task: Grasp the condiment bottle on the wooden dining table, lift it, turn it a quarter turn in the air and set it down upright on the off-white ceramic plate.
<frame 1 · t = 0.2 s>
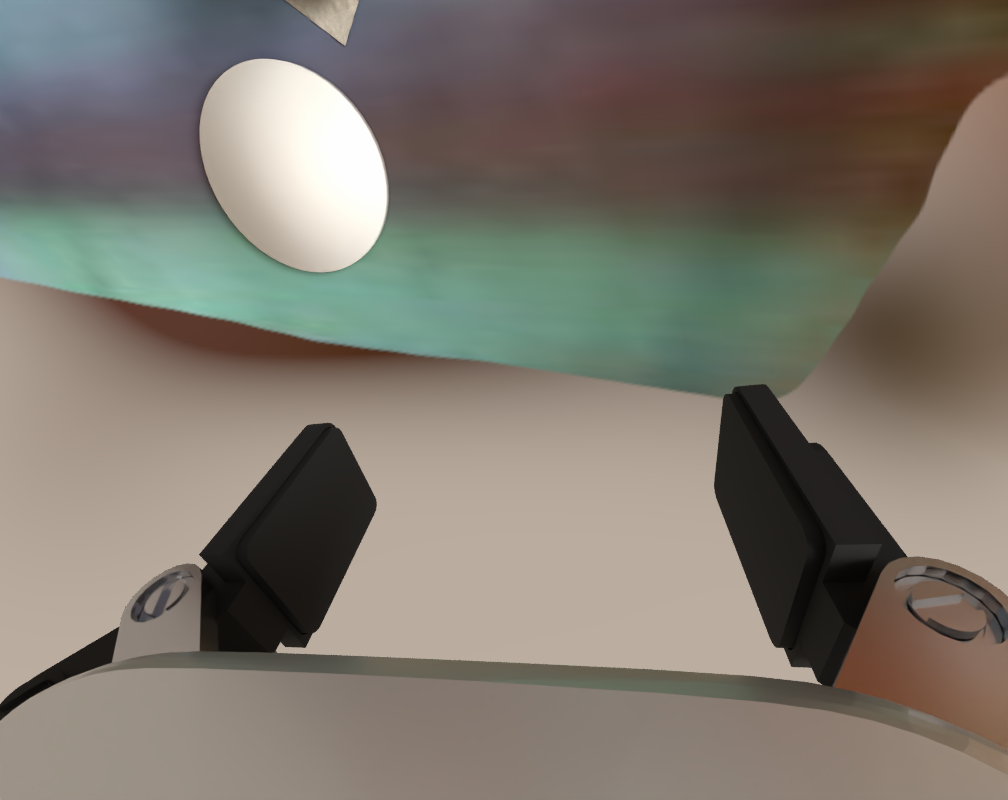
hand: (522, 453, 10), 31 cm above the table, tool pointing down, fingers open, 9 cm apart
plate: (299, 177, 37), on the table
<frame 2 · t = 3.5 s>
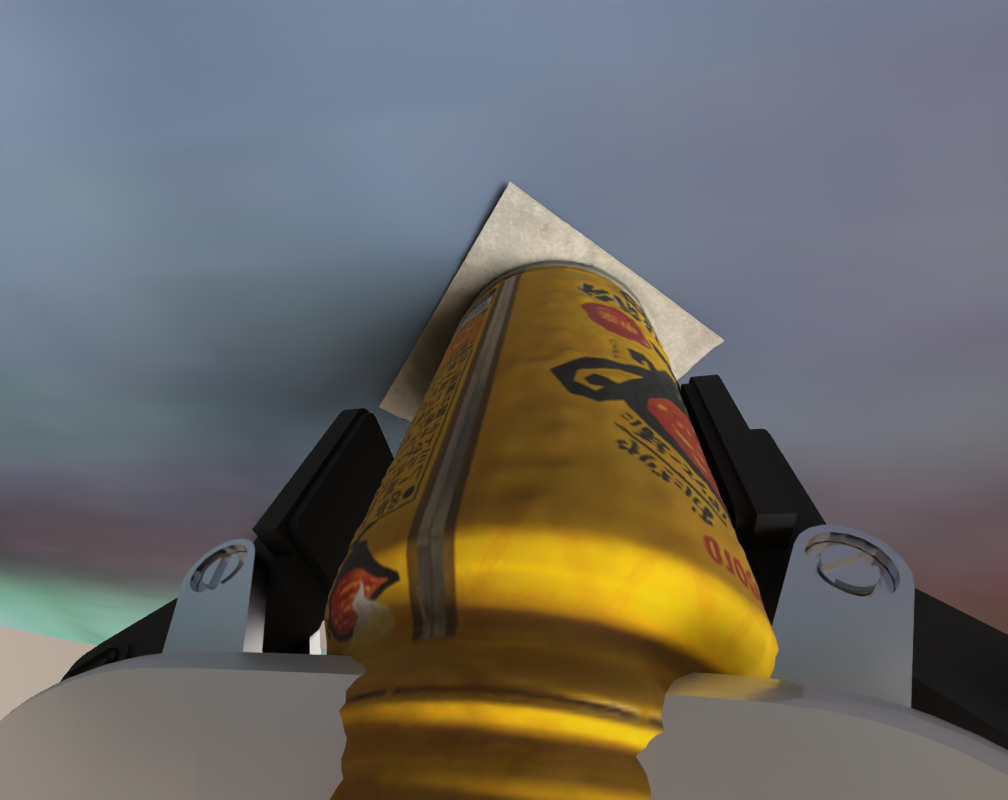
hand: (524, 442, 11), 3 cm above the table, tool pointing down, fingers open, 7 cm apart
condiment: (534, 369, 14), on the table, touching gripper
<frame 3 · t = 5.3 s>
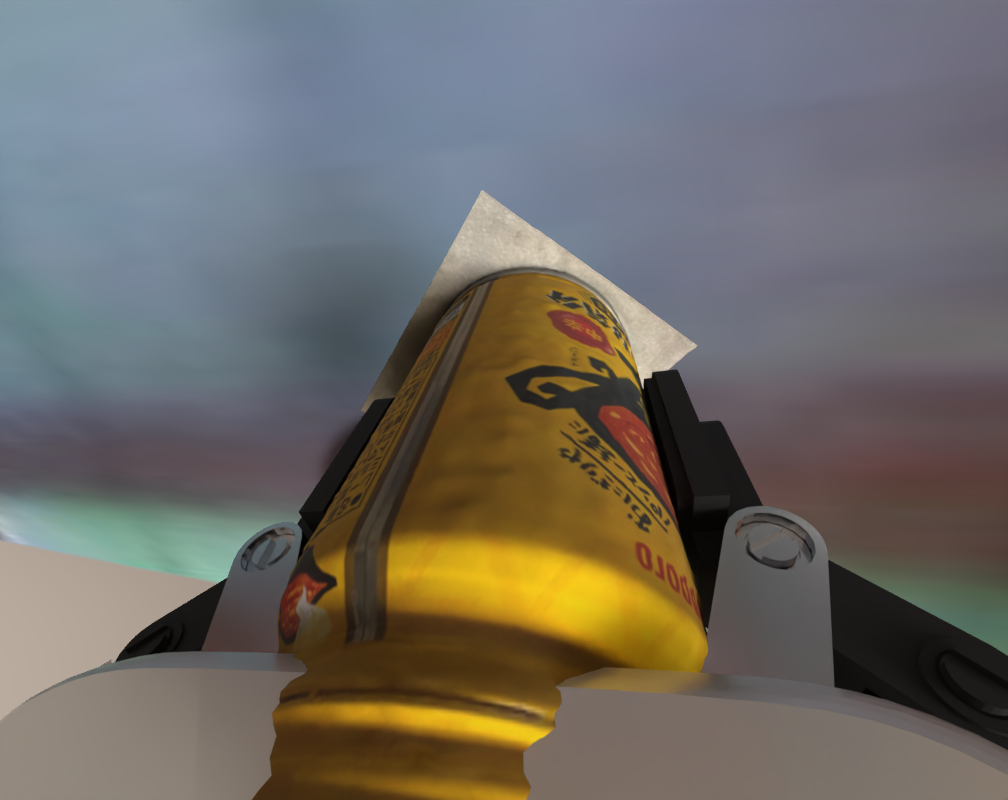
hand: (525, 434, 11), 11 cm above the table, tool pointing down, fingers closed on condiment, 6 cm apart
condiment: (512, 374, 14), point 8 cm above the table, touching gripper
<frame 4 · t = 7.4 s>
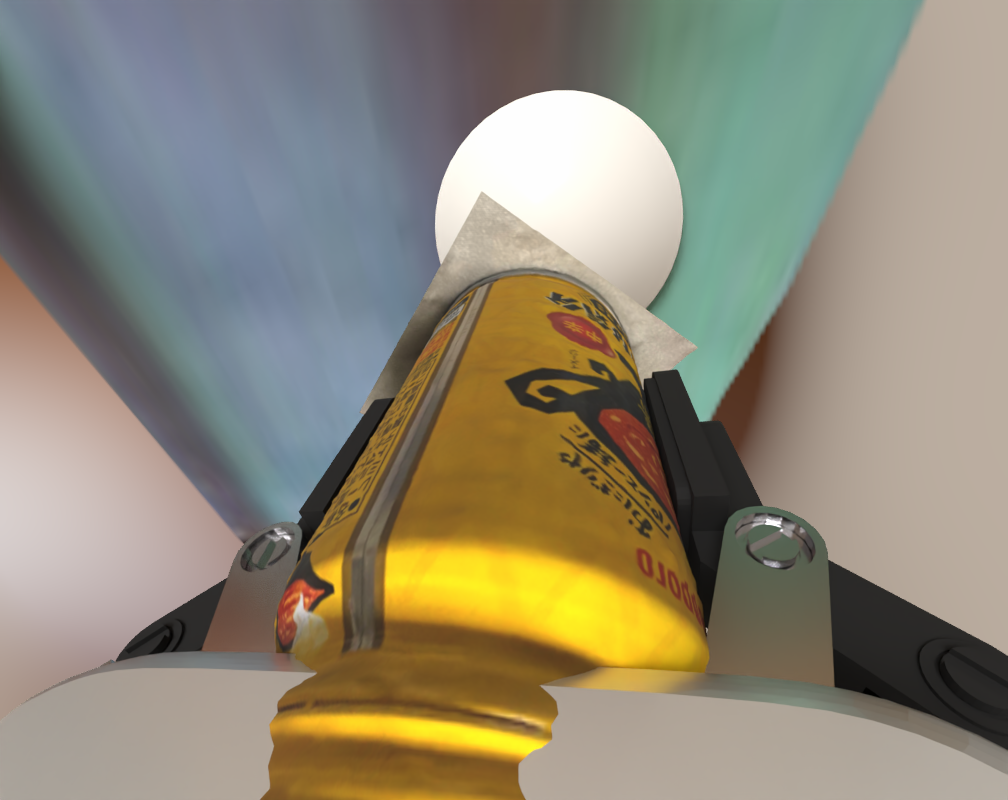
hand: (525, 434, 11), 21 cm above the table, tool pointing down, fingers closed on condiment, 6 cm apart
plate: (554, 237, 28), on the table
condiment: (512, 375, 14), point 18 cm above the table, touching gripper
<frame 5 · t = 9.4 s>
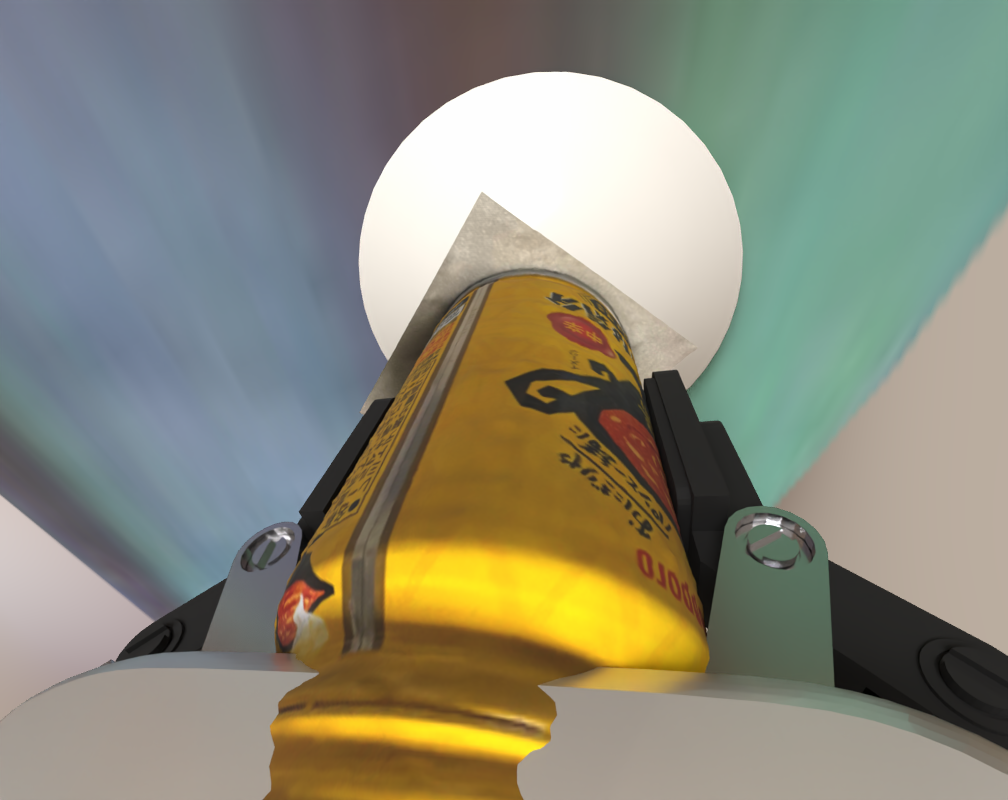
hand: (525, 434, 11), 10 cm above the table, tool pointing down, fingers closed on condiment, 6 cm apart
plate: (540, 297, 19), on the table
condiment: (512, 375, 14), point 7 cm above the table, touching gripper
when the fingers open (5 cm above the table, at t = 10.8 s): condiment drops 1 cm, resting on plate.
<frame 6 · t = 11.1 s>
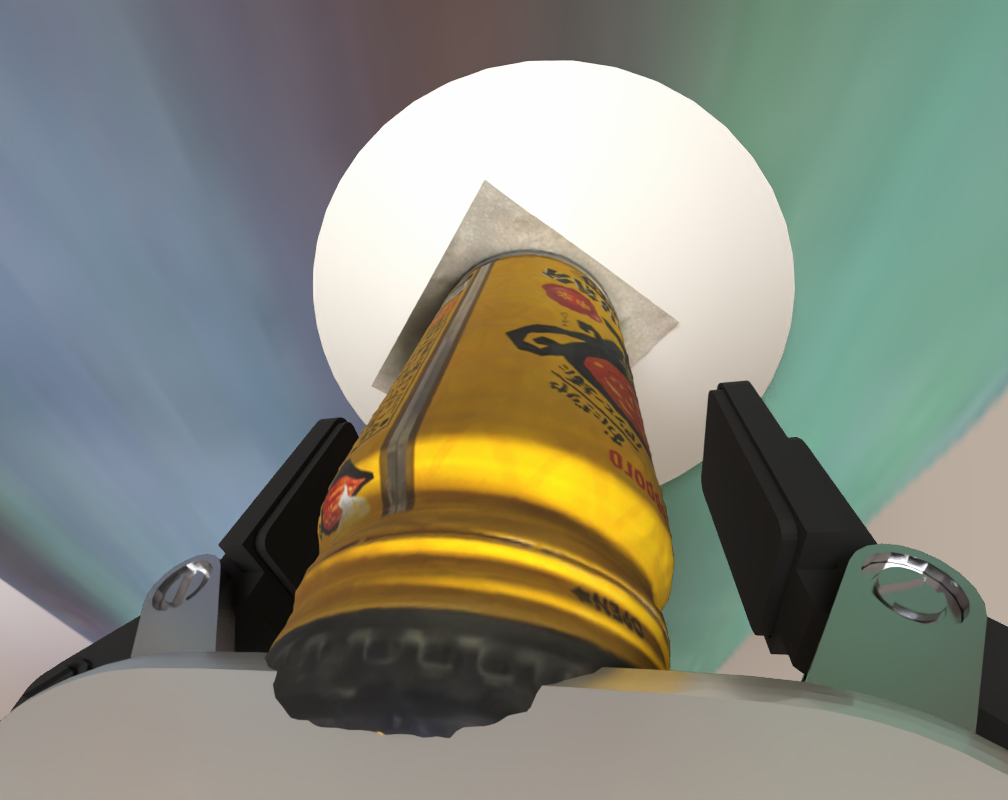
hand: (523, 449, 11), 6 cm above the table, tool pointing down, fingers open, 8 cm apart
plate: (538, 340, 16), on the table
condiment: (512, 350, 15), point 1 cm above the table, touching plate
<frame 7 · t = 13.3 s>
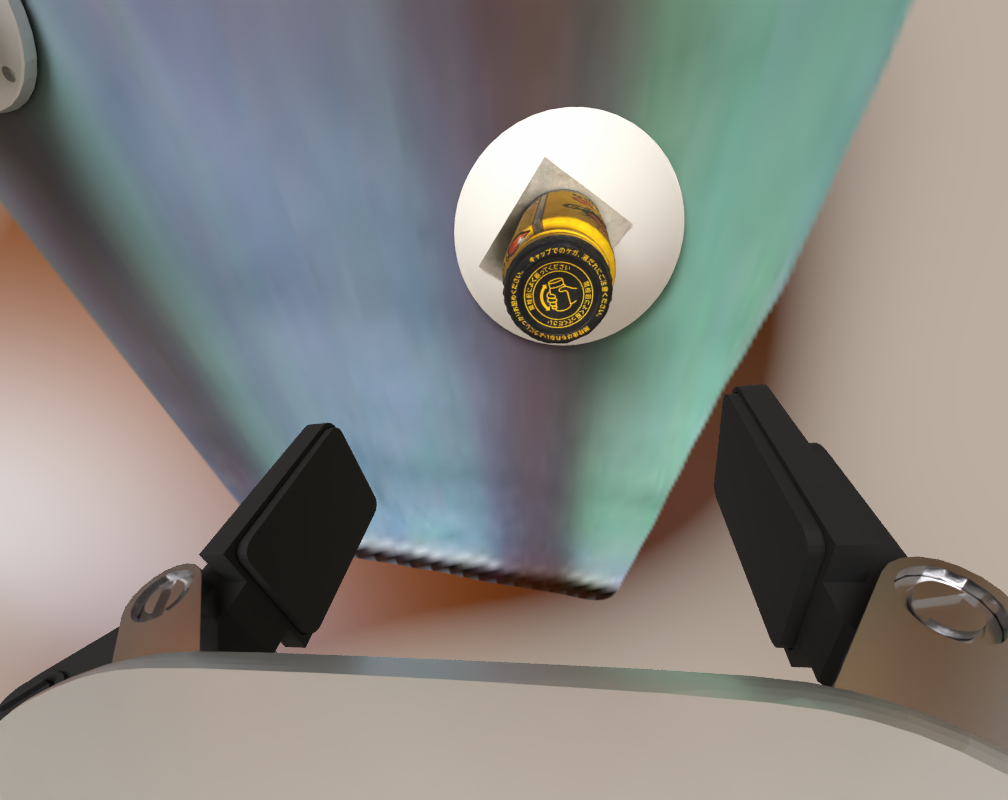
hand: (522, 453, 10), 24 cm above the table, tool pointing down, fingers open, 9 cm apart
plate: (564, 240, 31), on the table
condiment: (552, 244, 30), point 1 cm above the table, touching plate
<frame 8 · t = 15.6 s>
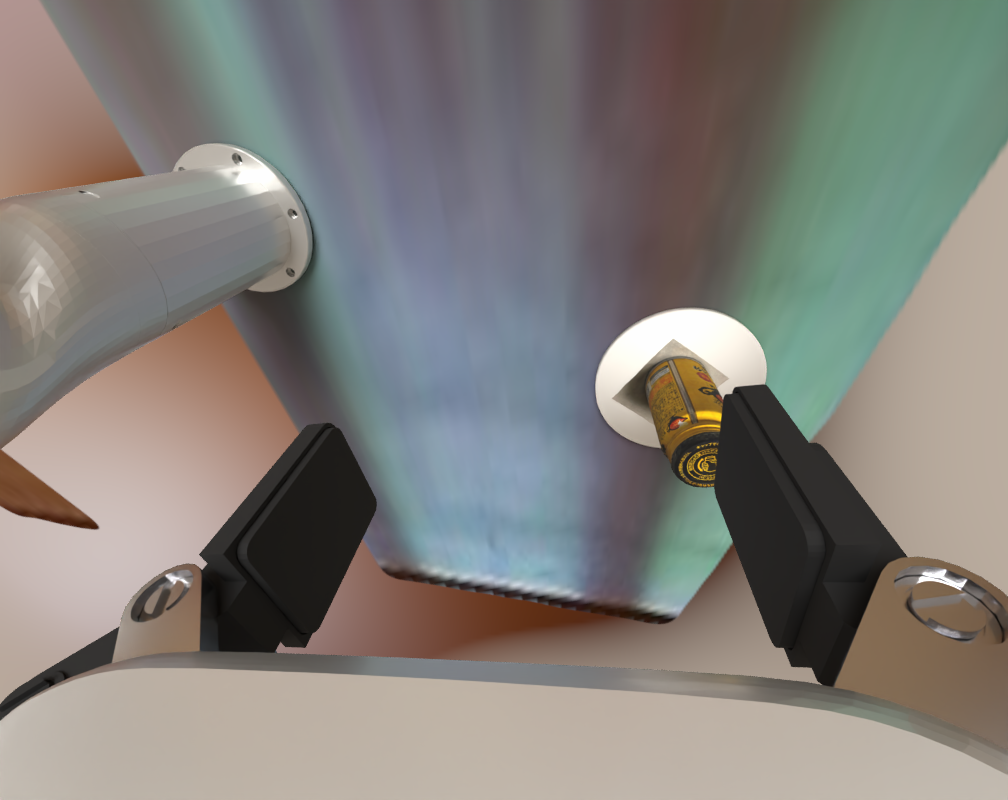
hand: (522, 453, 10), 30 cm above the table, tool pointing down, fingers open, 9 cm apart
plate: (675, 381, 43), on the table
condiment: (667, 386, 42), point 1 cm above the table, touching plate
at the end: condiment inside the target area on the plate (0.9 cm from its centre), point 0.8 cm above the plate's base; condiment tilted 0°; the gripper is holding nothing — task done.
